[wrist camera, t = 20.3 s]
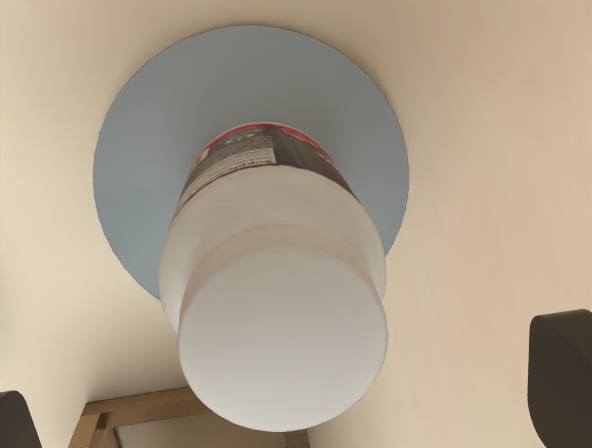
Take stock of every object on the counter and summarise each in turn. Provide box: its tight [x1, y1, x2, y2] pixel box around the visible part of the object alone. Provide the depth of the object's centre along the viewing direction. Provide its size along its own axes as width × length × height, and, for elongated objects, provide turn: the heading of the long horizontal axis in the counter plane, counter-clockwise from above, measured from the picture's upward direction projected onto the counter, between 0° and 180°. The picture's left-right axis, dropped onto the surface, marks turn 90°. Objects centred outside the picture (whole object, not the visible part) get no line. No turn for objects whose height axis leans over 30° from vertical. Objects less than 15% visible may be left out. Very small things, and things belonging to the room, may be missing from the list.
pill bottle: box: [158, 121, 388, 432], centre depth 15 cm, size 5×5×10 cm
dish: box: [93, 25, 409, 301], centre depth 20 cm, size 11×11×1 cm
